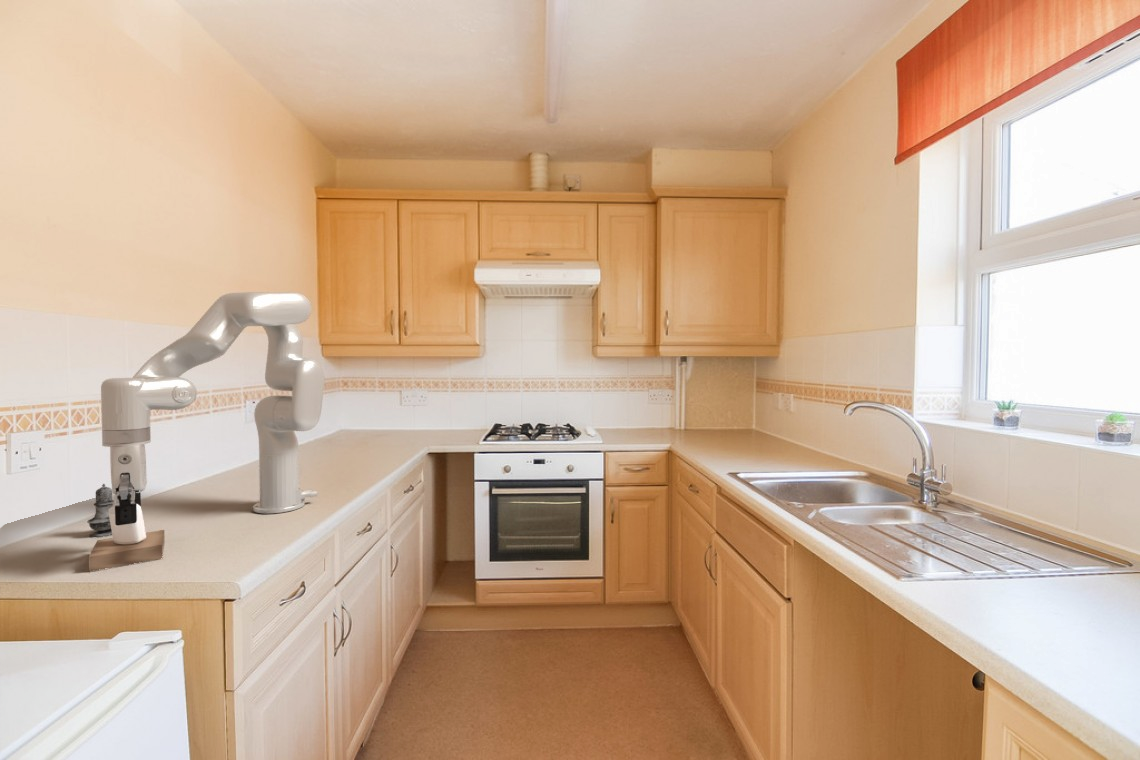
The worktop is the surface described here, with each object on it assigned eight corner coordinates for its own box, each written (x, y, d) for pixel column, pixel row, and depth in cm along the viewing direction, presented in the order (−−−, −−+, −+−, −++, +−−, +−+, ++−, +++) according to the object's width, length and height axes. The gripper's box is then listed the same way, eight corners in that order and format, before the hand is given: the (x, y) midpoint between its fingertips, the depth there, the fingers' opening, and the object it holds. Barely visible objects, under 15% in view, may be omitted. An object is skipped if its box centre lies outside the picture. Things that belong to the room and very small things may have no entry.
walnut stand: (164, 542, 111) (164, 529, 111) (162, 558, 102) (161, 544, 102) (97, 553, 104) (97, 540, 104) (89, 572, 96) (88, 557, 96)
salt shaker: (128, 529, 119) (127, 481, 119) (103, 538, 113) (101, 487, 113) (106, 528, 120) (105, 480, 119) (80, 537, 114) (78, 486, 113)
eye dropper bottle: (122, 549, 100) (112, 494, 98) (111, 541, 103) (101, 488, 101) (148, 539, 104) (139, 486, 102) (137, 533, 107) (128, 481, 105)
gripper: (147, 441, 98) (149, 525, 99) (153, 430, 112) (154, 504, 112) (95, 444, 93) (97, 533, 94) (108, 433, 107) (110, 510, 108)
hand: (128, 517), depth 103 cm, fingers open, 9 cm apart
